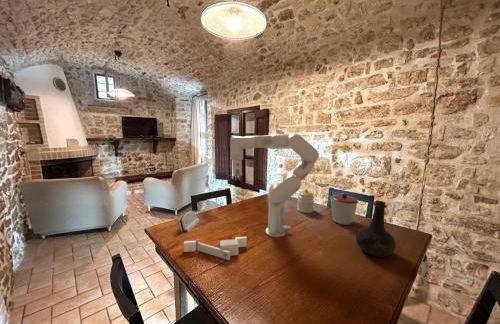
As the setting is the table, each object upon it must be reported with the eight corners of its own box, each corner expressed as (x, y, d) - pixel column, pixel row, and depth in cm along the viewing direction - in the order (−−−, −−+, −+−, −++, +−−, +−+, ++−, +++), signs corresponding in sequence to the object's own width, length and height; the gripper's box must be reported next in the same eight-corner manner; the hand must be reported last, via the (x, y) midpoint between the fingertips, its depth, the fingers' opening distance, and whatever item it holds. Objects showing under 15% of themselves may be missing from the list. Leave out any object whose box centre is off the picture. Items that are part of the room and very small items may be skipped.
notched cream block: (246, 244, 113) (246, 236, 112) (246, 246, 111) (246, 238, 110) (184, 250, 107) (184, 241, 106) (184, 252, 105) (183, 243, 105)
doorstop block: (237, 249, 108) (237, 239, 108) (238, 255, 104) (238, 244, 103) (220, 251, 107) (220, 240, 106) (220, 256, 102) (220, 245, 101)
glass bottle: (347, 246, 113) (351, 197, 109) (370, 240, 119) (375, 194, 115) (377, 265, 97) (383, 209, 92) (402, 257, 103) (409, 205, 99)
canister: (361, 223, 142) (364, 194, 139) (347, 230, 132) (350, 199, 128) (338, 214, 156) (340, 188, 153) (323, 220, 146) (325, 191, 143)
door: (194, 251, 106) (194, 242, 106) (197, 249, 108) (196, 240, 107) (228, 262, 98) (228, 252, 97) (230, 259, 100) (230, 250, 99)
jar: (294, 207, 170) (295, 187, 168) (309, 207, 172) (310, 186, 169) (300, 213, 157) (301, 191, 155) (316, 213, 159) (317, 191, 156)
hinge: (188, 232, 126) (182, 217, 126) (181, 233, 127) (176, 219, 127) (200, 220, 142) (195, 207, 142) (194, 222, 144) (189, 209, 143)
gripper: (245, 158, 114) (244, 188, 117) (241, 155, 131) (240, 181, 134) (231, 159, 113) (231, 188, 115) (229, 155, 130) (229, 181, 132)
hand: (236, 184), depth 124 cm, fingers open, 9 cm apart
